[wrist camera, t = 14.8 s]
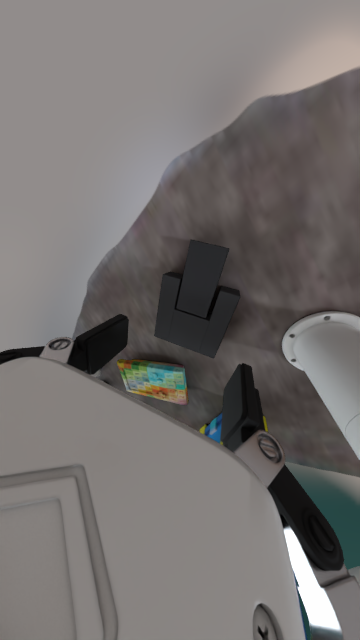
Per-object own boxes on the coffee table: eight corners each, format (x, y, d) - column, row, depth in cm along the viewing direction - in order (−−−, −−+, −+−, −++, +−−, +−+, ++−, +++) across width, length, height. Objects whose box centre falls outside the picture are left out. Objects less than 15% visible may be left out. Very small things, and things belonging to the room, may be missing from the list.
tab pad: (196, 241, 26) (190, 239, 22) (229, 248, 25) (228, 248, 21) (182, 302, 32) (176, 308, 28) (208, 310, 31) (205, 318, 27)
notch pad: (239, 290, 27) (240, 296, 24) (215, 347, 34) (213, 358, 30) (170, 271, 30) (162, 274, 26) (161, 328, 36) (154, 336, 33)
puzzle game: (186, 407, 39) (125, 393, 45) (190, 393, 43) (134, 381, 49) (181, 374, 34) (114, 364, 41) (186, 361, 38) (124, 353, 45)
